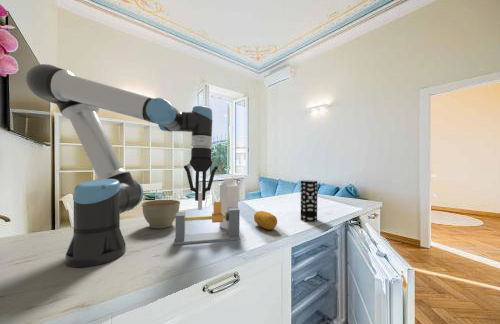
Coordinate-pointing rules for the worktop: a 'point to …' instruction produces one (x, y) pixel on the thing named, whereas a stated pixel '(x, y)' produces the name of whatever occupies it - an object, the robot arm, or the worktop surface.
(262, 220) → the potato
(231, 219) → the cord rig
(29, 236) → the worktop surface
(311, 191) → the white-spotted black cylinder
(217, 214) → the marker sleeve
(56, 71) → the robot arm
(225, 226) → the milk
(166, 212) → the planter bowl
